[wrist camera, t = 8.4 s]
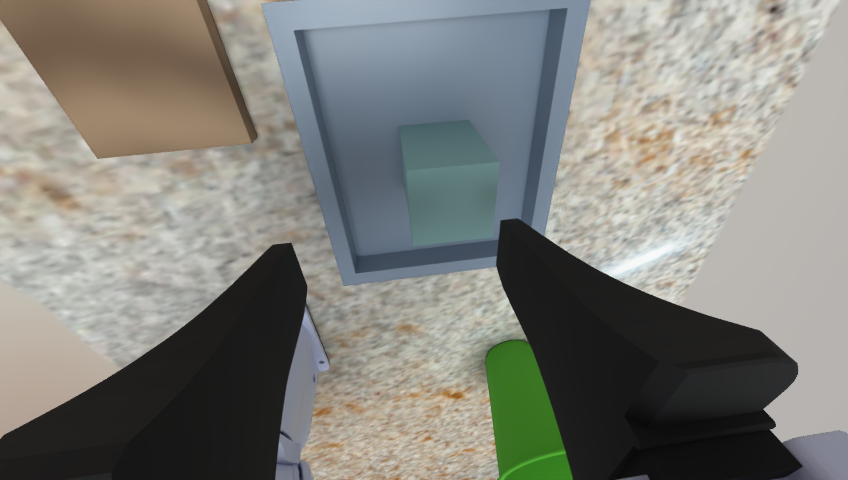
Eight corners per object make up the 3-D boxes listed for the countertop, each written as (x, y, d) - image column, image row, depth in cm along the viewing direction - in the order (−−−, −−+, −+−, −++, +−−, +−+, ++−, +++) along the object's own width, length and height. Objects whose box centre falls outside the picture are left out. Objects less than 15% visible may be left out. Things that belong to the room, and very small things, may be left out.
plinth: (257, 137, 19) (251, 143, 18) (109, 151, 18) (97, 158, 17) (187, -51, 14) (175, -54, 13) (-16, -38, 13) (-41, -40, 13)
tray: (526, 241, 26) (539, 261, 24) (346, 263, 25) (343, 285, 23) (568, -21, 16) (594, -23, 14) (275, 2, 15) (260, 3, 13)
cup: (568, 336, 34) (635, 455, 25) (518, 383, 38) (560, 498, 30) (497, 318, 31) (545, 446, 22) (451, 371, 35) (476, 496, 26)
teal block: (468, 119, 19) (499, 161, 14) (466, 196, 22) (491, 252, 17) (398, 126, 19) (406, 171, 14) (406, 202, 22) (414, 261, 17)
